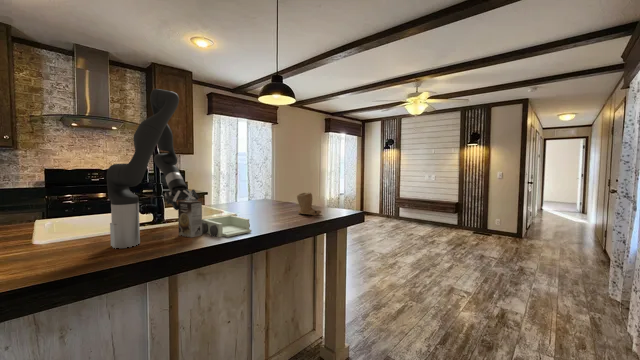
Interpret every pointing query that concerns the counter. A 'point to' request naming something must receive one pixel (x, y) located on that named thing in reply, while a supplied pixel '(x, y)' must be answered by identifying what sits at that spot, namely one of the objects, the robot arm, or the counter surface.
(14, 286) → the counter surface
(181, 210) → the coffee box
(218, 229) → the cart bed
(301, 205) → the brown boot
